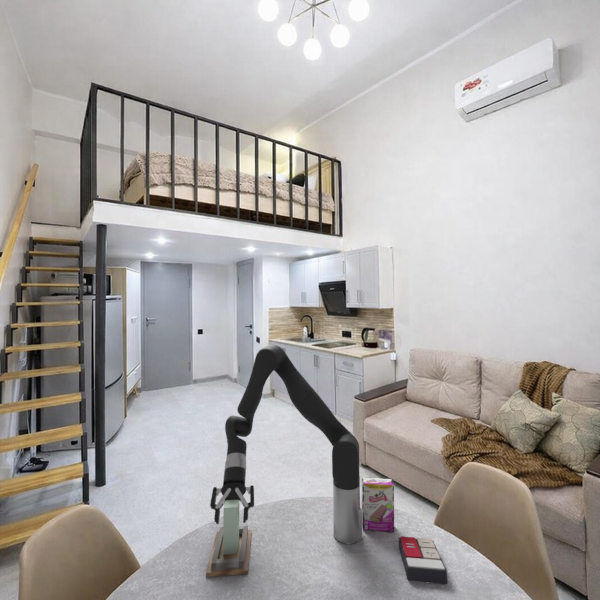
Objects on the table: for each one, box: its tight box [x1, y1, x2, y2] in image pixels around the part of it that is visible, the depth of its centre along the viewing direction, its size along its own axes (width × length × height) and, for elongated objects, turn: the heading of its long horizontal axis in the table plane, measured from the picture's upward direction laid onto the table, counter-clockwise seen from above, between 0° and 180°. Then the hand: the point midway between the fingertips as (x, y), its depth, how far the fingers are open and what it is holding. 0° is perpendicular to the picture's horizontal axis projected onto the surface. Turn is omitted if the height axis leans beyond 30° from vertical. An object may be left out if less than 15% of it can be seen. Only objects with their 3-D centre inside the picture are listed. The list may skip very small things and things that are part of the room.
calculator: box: [398, 536, 448, 585], centre depth 100 cm, size 11×4×15 cm
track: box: [205, 525, 253, 578], centre depth 105 cm, size 12×19×3 cm, turn 5°
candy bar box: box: [361, 477, 395, 533], centre depth 118 cm, size 11×5×16 cm, turn 84°
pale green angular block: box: [222, 500, 240, 554], centre depth 105 cm, size 4×4×14 cm
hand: (231, 522), depth 104 cm, fingers open, 8 cm apart
